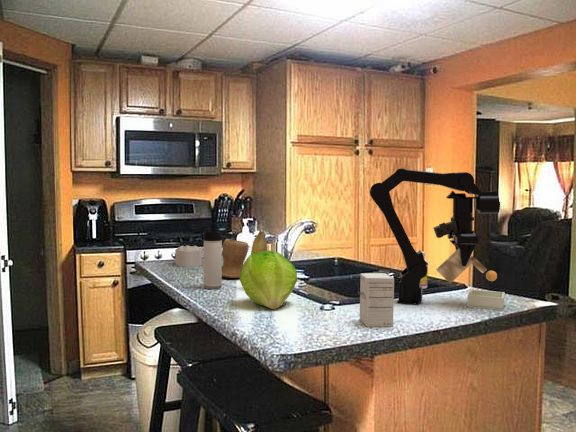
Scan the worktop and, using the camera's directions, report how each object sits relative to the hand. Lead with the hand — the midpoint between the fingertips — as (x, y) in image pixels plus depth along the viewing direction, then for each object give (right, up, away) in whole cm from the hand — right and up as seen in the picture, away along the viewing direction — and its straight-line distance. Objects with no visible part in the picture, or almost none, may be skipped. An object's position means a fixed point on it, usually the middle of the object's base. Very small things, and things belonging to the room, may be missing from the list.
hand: (462, 264), depth 161 cm
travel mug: (-80, -11, +23) cm, 84 cm away
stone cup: (-76, -9, +47) cm, 90 cm away
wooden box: (-4, -5, +1) cm, 7 cm away
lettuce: (-59, -12, -2) cm, 60 cm away
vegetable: (-64, -11, +23) cm, 68 cm away
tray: (+7, -12, 0) cm, 14 cm away
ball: (+8, -3, -1) cm, 9 cm away
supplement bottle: (-7, -11, +28) cm, 30 cm away
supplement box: (-30, -13, -23) cm, 40 cm away
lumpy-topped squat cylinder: (-99, -8, +79) cm, 127 cm away
